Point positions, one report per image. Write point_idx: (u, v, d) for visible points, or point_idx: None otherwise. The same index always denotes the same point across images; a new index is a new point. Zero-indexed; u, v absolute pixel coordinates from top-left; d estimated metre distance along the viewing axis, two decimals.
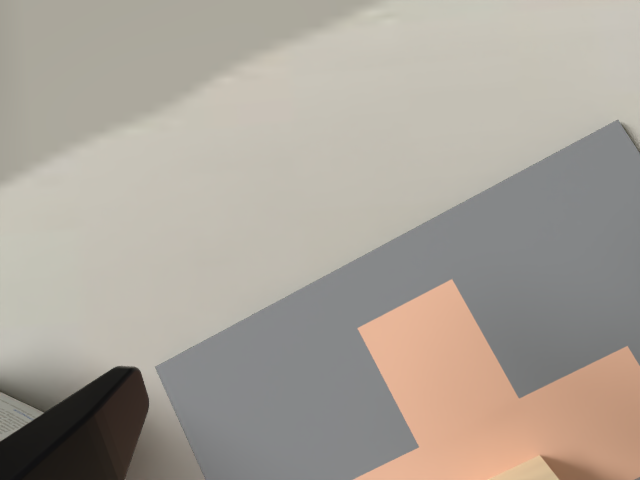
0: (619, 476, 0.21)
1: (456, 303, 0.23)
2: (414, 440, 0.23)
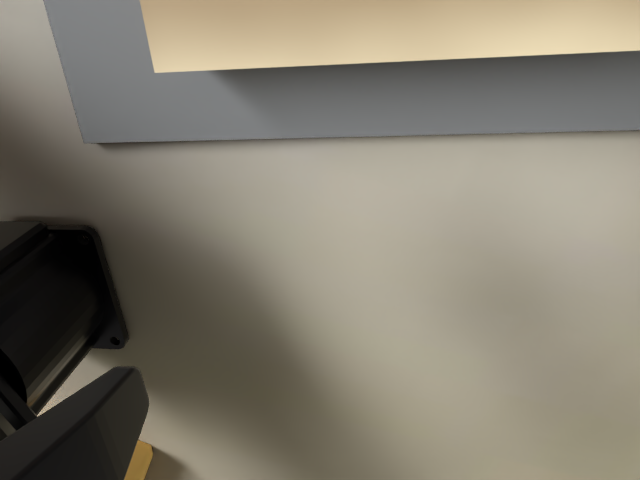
0: None
1: None
2: None
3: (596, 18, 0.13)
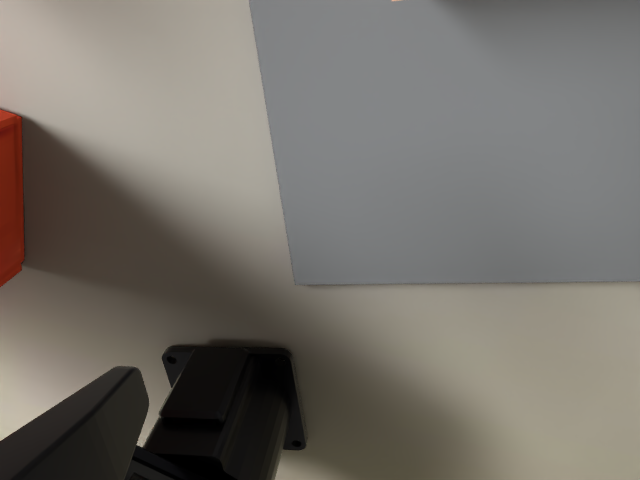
0: None
1: None
2: None
3: None
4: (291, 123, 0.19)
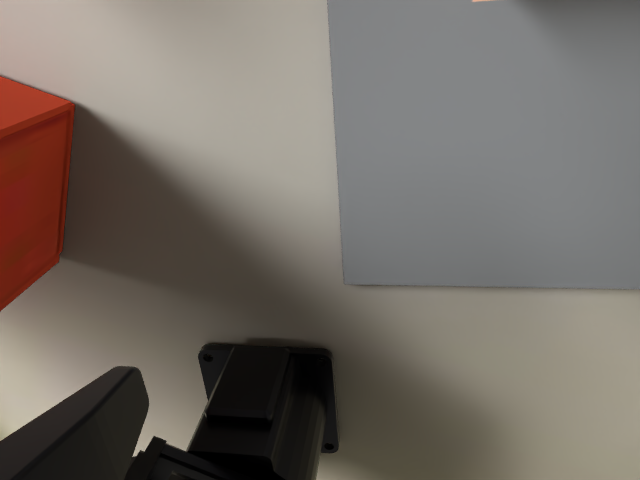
0: None
1: None
2: None
3: None
4: (357, 120, 0.19)
